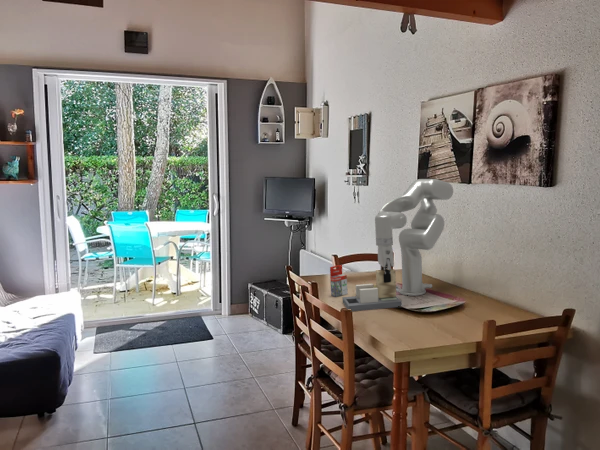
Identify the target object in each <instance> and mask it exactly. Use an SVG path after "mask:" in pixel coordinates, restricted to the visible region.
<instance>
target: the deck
mask: <svg viewBox="0 0 600 450" xmlns="http://www.w3.org/2000/svg"><path fill="white" fill-rule="evenodd" d="M341 297H342V296H341ZM402 303H403V302H402V300H401V299H400V298H399V297H398V296H396V297H385V298H379V297H378V302H371V303H360V298H356V295H355V296H343V297H342V304H343V305H344V306H345V308H346V310H348V309H351V310H352V311H351V312H358V311H370V310H378V309H379V310H382V309H391V308H393V309H394V308H399V307H398V306H401V305H402V306H403V304H402Z"/></svg>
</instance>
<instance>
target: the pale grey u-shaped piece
mask: <svg viewBox="0 0 600 450" xmlns="http://www.w3.org/2000/svg"><path fill="white" fill-rule="evenodd" d="M355 296H356V298H360V303H371V302H378V288H376V287H374V283H365V284H363V283H362V284H355Z"/></svg>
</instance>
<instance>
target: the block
mask: <svg viewBox="0 0 600 450" xmlns="http://www.w3.org/2000/svg"><path fill="white" fill-rule="evenodd" d="M396 280H397V278H396V270H395V269H394V268H391V282H388V283H384V270H380V269H376V270H375V282H376V283H375V284H376V285H375V286H376V287H375V288H378V297H379V298H385V297H397V281H396Z"/></svg>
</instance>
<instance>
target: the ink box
mask: <svg viewBox="0 0 600 450" xmlns="http://www.w3.org/2000/svg"><path fill="white" fill-rule="evenodd" d="M329 274H330V275H329V278H330V279H329V280H330V295H331V296H332V297H333V298H337V297H342V296H344V295H348V293H349V292H348V275H347V274H344V273H343V264H337V265H333V266H330V267H329Z"/></svg>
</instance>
